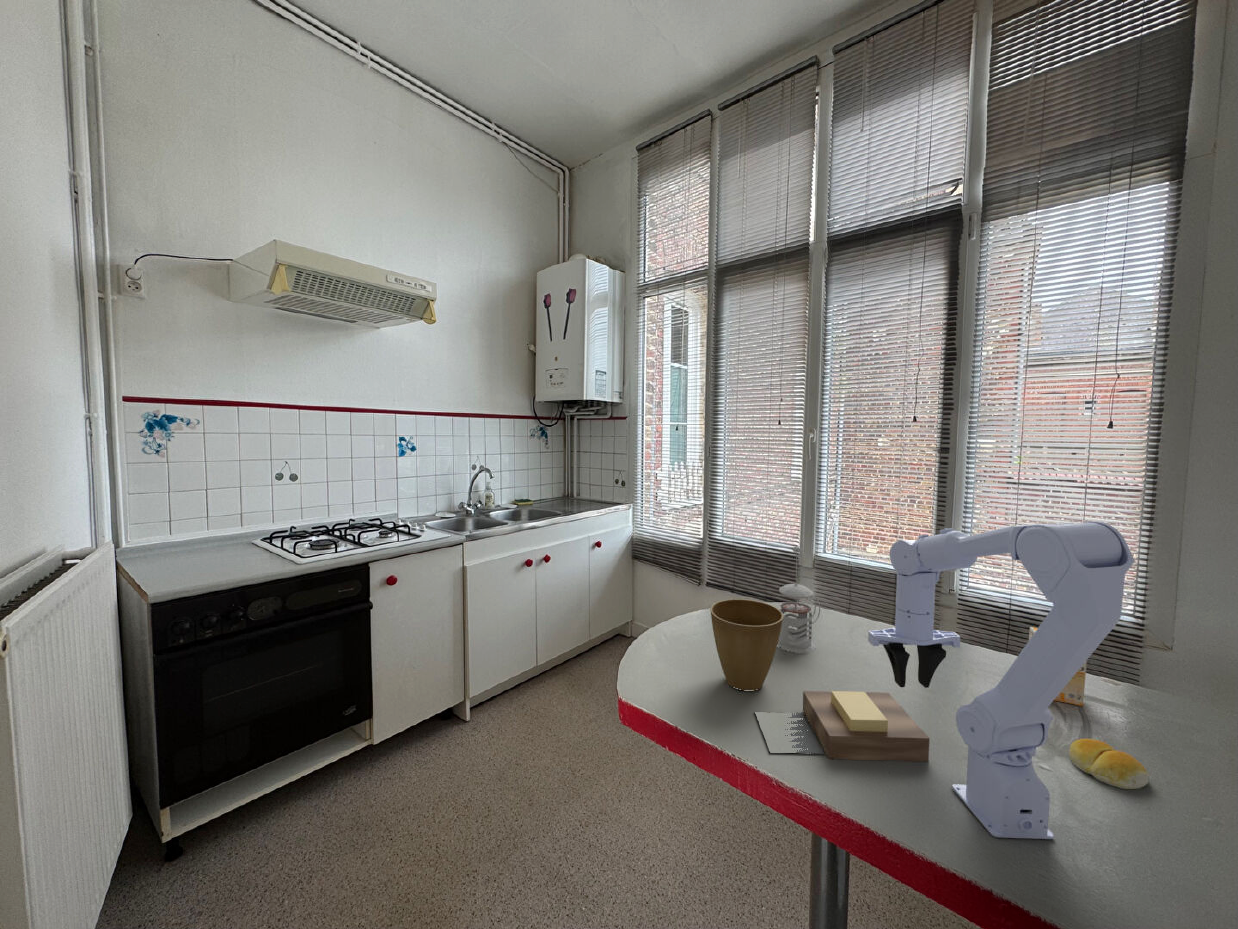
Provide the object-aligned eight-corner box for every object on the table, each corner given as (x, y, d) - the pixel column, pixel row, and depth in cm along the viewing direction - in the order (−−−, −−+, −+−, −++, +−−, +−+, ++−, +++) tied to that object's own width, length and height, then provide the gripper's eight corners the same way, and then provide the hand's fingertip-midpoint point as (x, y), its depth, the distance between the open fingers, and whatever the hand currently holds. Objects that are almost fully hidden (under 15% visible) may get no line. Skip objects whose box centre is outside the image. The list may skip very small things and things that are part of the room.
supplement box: (1030, 697, 102) (1034, 634, 101) (1025, 686, 106) (1028, 625, 105) (1084, 708, 98) (1089, 642, 97) (1076, 696, 102) (1080, 633, 101)
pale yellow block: (887, 731, 84) (887, 720, 84) (850, 731, 85) (851, 719, 85) (864, 702, 93) (864, 691, 93) (831, 701, 94) (831, 691, 93)
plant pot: (704, 695, 103) (705, 619, 102) (715, 663, 117) (715, 595, 116) (781, 708, 99) (782, 629, 97) (782, 672, 113) (783, 602, 111)
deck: (928, 761, 83) (929, 738, 83) (829, 759, 84) (829, 736, 83) (887, 712, 97) (888, 692, 97) (802, 711, 98) (803, 691, 97)
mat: (823, 755, 85) (823, 753, 85) (769, 753, 85) (769, 752, 85) (801, 713, 97) (801, 712, 97) (754, 712, 97) (754, 711, 97)
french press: (766, 639, 130) (768, 543, 128) (804, 633, 134) (806, 540, 131) (790, 655, 121) (792, 553, 119) (830, 649, 124) (833, 549, 122)
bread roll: (1091, 749, 86) (1093, 727, 86) (1158, 786, 77) (1160, 761, 77) (1053, 757, 84) (1055, 734, 84) (1117, 795, 75) (1119, 770, 75)
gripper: (944, 601, 91) (941, 673, 92) (861, 600, 91) (859, 672, 92) (969, 616, 84) (965, 694, 85) (879, 615, 84) (877, 693, 85)
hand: (911, 684), depth 88 cm, fingers open, 3 cm apart
